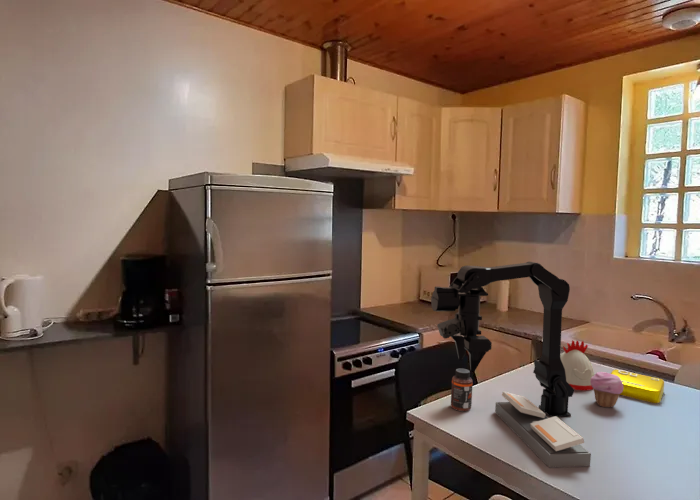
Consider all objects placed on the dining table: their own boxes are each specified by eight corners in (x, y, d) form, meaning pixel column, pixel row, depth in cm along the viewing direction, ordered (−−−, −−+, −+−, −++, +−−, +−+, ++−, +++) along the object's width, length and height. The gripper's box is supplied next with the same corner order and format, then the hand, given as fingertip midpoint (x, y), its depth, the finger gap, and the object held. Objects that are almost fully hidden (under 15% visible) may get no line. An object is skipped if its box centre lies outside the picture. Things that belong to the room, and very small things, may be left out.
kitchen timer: (603, 391, 146) (606, 347, 144) (562, 389, 146) (565, 345, 145) (582, 376, 159) (584, 335, 158) (544, 374, 160) (546, 334, 158)
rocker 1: (523, 400, 127) (524, 396, 127) (544, 418, 116) (545, 413, 116) (501, 395, 126) (503, 390, 126) (520, 412, 115) (522, 407, 115)
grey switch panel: (527, 411, 128) (528, 400, 128) (590, 466, 100) (591, 451, 100) (495, 412, 127) (495, 400, 127) (548, 467, 99) (549, 453, 99)
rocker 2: (556, 420, 111) (555, 415, 111) (584, 442, 100) (583, 437, 100) (531, 427, 111) (530, 423, 111) (556, 451, 100) (555, 446, 100)
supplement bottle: (472, 413, 126) (473, 375, 125) (450, 410, 127) (452, 373, 126) (470, 404, 132) (472, 368, 131) (450, 402, 133) (452, 366, 132)
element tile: (604, 392, 146) (605, 378, 145) (612, 380, 157) (613, 367, 157) (659, 405, 136) (660, 390, 136) (663, 391, 148) (665, 378, 147)
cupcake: (586, 397, 140) (588, 366, 139) (616, 401, 138) (618, 370, 137) (593, 408, 132) (595, 376, 131) (625, 412, 129) (628, 380, 128)
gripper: (431, 304, 131) (429, 355, 132) (452, 319, 113) (449, 378, 114) (467, 304, 132) (465, 354, 133) (493, 318, 114) (490, 377, 115)
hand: (466, 365), depth 124 cm, fingers open, 9 cm apart
